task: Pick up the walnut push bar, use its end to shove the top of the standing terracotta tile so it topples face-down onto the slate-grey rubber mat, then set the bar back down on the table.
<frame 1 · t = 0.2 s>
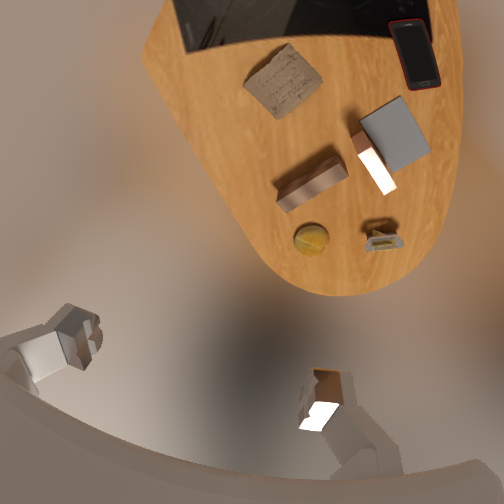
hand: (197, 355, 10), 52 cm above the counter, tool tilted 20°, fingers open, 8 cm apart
bread roll: (311, 237, 72), on the counter
clay tablet: (283, 81, 47), on the counter
tile: (369, 152, 54), on the counter
bar: (311, 177, 61), on the counter
cell phone: (415, 53, 37), on the counter
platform: (380, 229, 67), on the counter
mat: (397, 135, 49), on the counter
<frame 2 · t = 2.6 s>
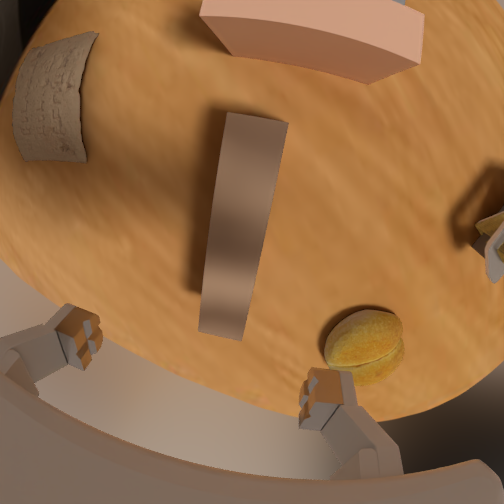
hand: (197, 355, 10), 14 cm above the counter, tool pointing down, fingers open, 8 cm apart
bread roll: (364, 340, 27), on the counter
clay tablet: (59, 98, 20), on the counter
tile: (304, 49, 16), on the counter
bar: (244, 219, 23), on the counter
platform: (488, 209, 20), on the counter
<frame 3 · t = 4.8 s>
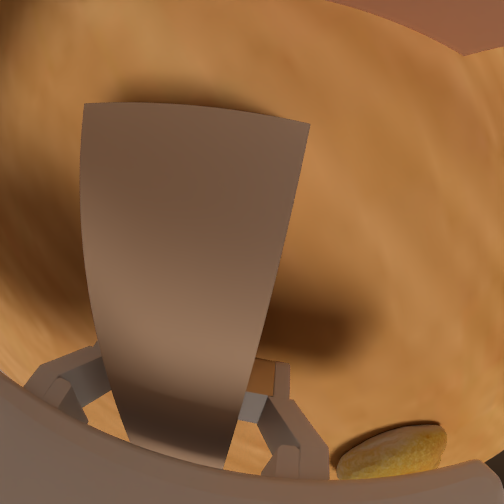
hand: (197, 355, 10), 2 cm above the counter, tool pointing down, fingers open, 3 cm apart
bread roll: (391, 448, 16), on the counter
bar: (208, 325, 11), on the counter
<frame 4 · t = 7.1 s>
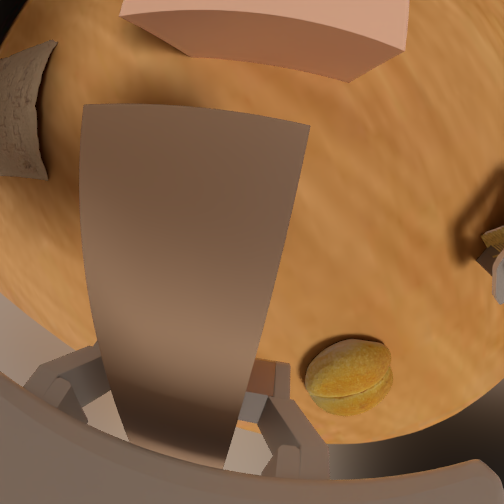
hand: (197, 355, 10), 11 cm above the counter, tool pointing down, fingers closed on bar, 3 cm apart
bread roll: (349, 368, 25), on the counter
clay tablet: (24, 111, 17), on the counter
tile: (272, 44, 14), on the counter
bar: (208, 326, 11), point 9 cm above the counter, touching gripper
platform: (496, 219, 17), on the counter
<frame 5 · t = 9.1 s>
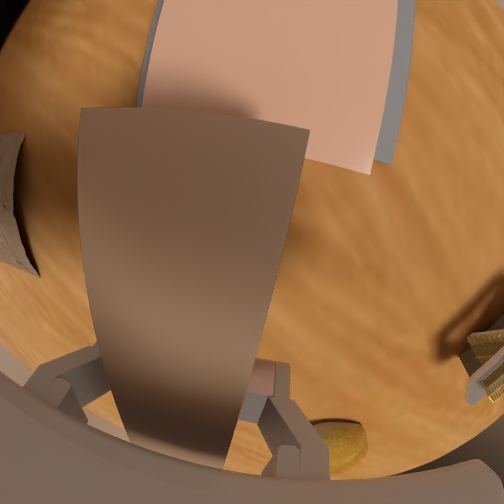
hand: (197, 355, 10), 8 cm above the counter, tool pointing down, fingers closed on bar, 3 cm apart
bread roll: (329, 437, 25), on the counter
clay tablet: (5, 200, 18), on the counter
tile: (254, 145, 12), point 2 cm above the counter, tilted 90°, touching mat
bar: (208, 326, 11), point 6 cm above the counter, touching gripper
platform: (486, 317, 17), on the counter
mat: (277, 39, 11), on the counter
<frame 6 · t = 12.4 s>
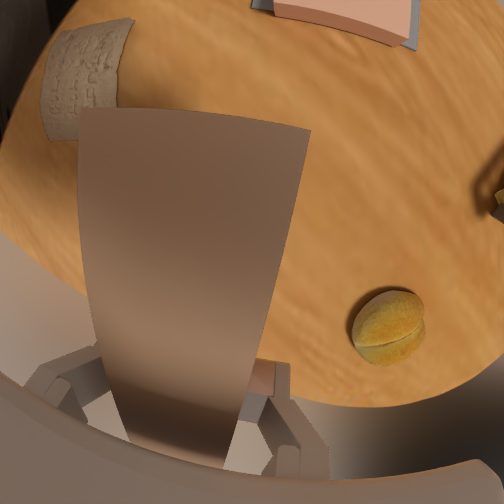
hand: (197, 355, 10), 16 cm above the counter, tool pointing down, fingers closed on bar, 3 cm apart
bread roll: (387, 321, 28), on the counter
clay tablet: (90, 80, 21), on the counter
tile: (340, 22, 15), point 2 cm above the counter, tilted 90°, touching mat
bar: (208, 326, 11), point 15 cm above the counter, touching gripper
when the fingers open (3 cm above the counter, at t = 15.3 s): bar drops 1 cm, on the counter.
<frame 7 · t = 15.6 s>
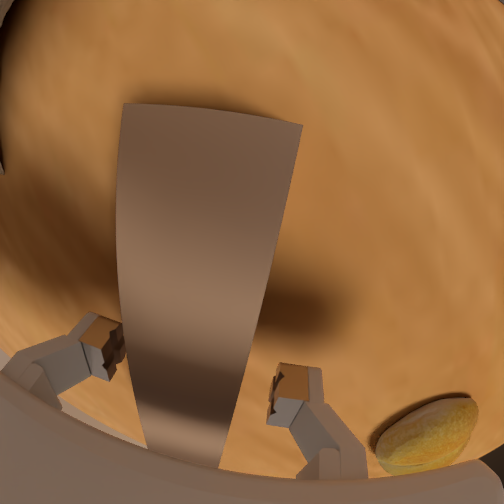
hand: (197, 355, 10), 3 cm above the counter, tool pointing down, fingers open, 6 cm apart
bread roll: (425, 425, 16), on the counter
bar: (214, 306, 13), on the counter
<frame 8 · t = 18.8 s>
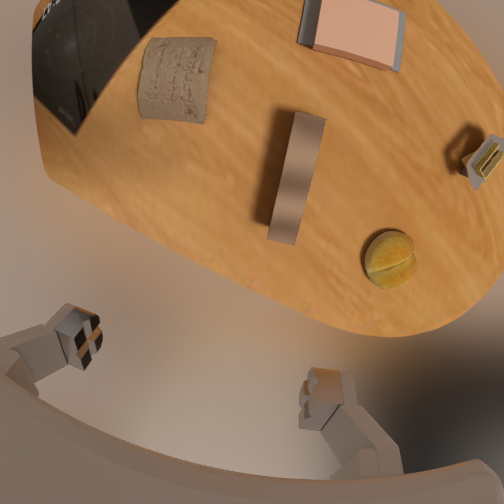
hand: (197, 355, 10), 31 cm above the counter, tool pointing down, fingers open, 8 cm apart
bread roll: (389, 257, 41), on the counter
clay tablet: (179, 78, 33), on the counter
tile: (352, 56, 28), point 2 cm above the counter, tilted 90°, touching mat
bar: (294, 174, 37), on the counter
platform: (469, 152, 32), on the counter
mat: (355, 24, 27), on the counter
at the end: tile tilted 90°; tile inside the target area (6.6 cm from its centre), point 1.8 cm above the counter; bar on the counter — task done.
